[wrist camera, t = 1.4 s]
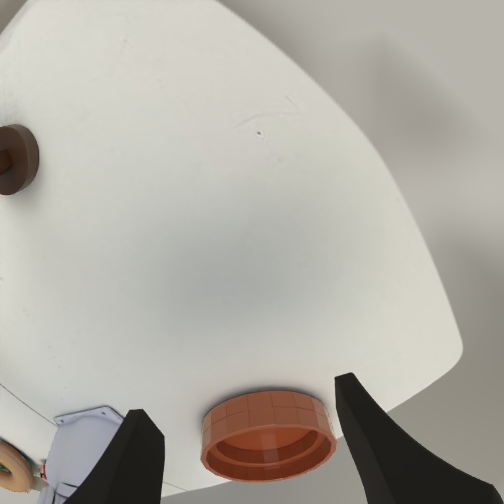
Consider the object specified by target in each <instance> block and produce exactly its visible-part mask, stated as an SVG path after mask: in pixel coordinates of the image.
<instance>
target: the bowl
mask: <svg viewBox="0 0 504 504" xmlns="http://www.w3.org/2000/svg"><path fill="white" fill-rule="evenodd" d="M336 443H337V441H336V437H335V434H334V430H333V427H332V424H331V420H330V417H329V414H328V411H327V410H326V408H325V406H324V404H323V403H322V402H320V401H318V400H317V399H315V398H313V397H312V396H309V395H305V394H301V393H297V392H292V391H264V392H257V393H249V394H245V395H242V396H239V397H235V398H232V399H229V400H227V401H225V402H223V403H221V404H220V405H218V406H216V407H215V408H213V409H212V410H210V412H209V413H208V414H207V415H206V417H205V418H204V419H203V422H202V429H201V456H200V460H201V462H202V463H203V465H204V466H205V468H206V469H208V470H209V471H211V472H212V473H214V474H215V475H217V476H220V477H223V478H226V479H229V480H235V481H243V482H270V481H278V480H283V479H288V478H292V477H295V476H299V475H302V474H304V473H306V472H309V471H311V470H313V469H315V468H317V467H319V466H320V465H321V464H323V463H324V462H326V461H327V460H328V459H329V458H330V457H331V456H332V454H333V453H334V452H335V449H336Z"/></svg>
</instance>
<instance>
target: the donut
mask: <svg viewBox="0 0 504 504" xmlns="http://www.w3.org/2000/svg"><path fill="white" fill-rule="evenodd" d="M0 463H2V464H3V465H5V466H6V467H7V468H8V469H9V470H10V471H9V470H7V469H5V468H3V467H2V466H1V465H0V486H2V487H3V488H6V489H8V490H11V491H14V492H25V491H27V490H29V489H30V488H31V487H32V485H33V482H34V475H33V472H32V470H31V467H30V465H29V463H28V462H27V460H26V459H25V458H24V457H23V456H22V455H21V454H20V453H19V452H18V451H17V450H16V449H15V448H13V447H12V446H10V445H9V444H7V443H6V442H4V441H2V440H0Z"/></svg>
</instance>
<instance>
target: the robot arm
mask: <svg viewBox="0 0 504 504" xmlns="http://www.w3.org/2000/svg"><path fill="white" fill-rule="evenodd" d="M335 396H336V410H337V414H338V417H339V421H340V425H341V428H342V432H343V434H344V437H345V439H346V442H347V445H348V447H349V449H350V452H351V455H352V457H353V459H354V462H355V464H356V467H357V470H358V472H359V475H360V477H361V480H362V483H363V486H364V489H365V494H366V498H367V502H368V504H503V500H502V498H501V496H500V494H499V493H498V491H497V490H496V489H495V487H494V486H493V485H492V484H489V483H487V482H484V481H482V480H480V479H477V478H475V477H473V476H471V475H469V474H467V473H465V472H463V471H461V470H459V469H457V468H455V467H454V466H452V465H450V464H449V463H447V462H445V461H443V460H442V459H440V458H439V457H437V456H436V455H434V454H433V453H431V452H430V451H429V450H427V449H426V448H425V447H423V446H422V445H421V444H419V443H418V442H417V441H415V440H414V439H413V438H412V437H410V436H409V435H408V434H407V433H406V432H405V431H404V430H403V429H402V428H401V427H400V426H398V425H397V424H396V423H395V422H394V421H393V420H392V419H391V418H390V417H389V416H388V415H387V414H386V413H385V411H384V410H383V409H382V408H381V407H380V406H379V405H378V404H377V403H376V402H375V401H374V399H373V398H372V397H371V396H370V395H369V393H368V392H367V391H366V390H365V388H364V387H363V386H362V385H361V383H360V382H359V381H358V379H357V378H356V376H355V375H354V374H353V373H347V374H344V375H340V376H336V377H335ZM54 422H55V423H56V424H57V425H59V426H58V429H57V432H56V435H55V437H54V440H53V443H52V446H51V449H50V452H49V455H48V458H47V461H46V465H45V473H46V478H47V481H48V483H49V486H47V487H44V488H42V490H41V493H40V496H39V499H38V503H37V504H160V500H161V490H162V481H163V472H164V462H165V441H164V435H163V434H162V433H161V431H160V430H159V429H158V428H157V426H156V425H155V424H154V423H153V421H152V420H151V419H150V417H149V416H148V415H147V414H146V412H145V411H144V410H143V409H137V410H129V412H128V413H127V415H126V417H125V418H124V419H123V418H121V417H120V416H119V415H118V414H117V413H115V412H114V411H113V410H112V409H111V408H109V407H102V408H97V409H93V410H89V411H84V412H79V413H75V414H70V415H65V416H59V417H55V418H54Z"/></svg>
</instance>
